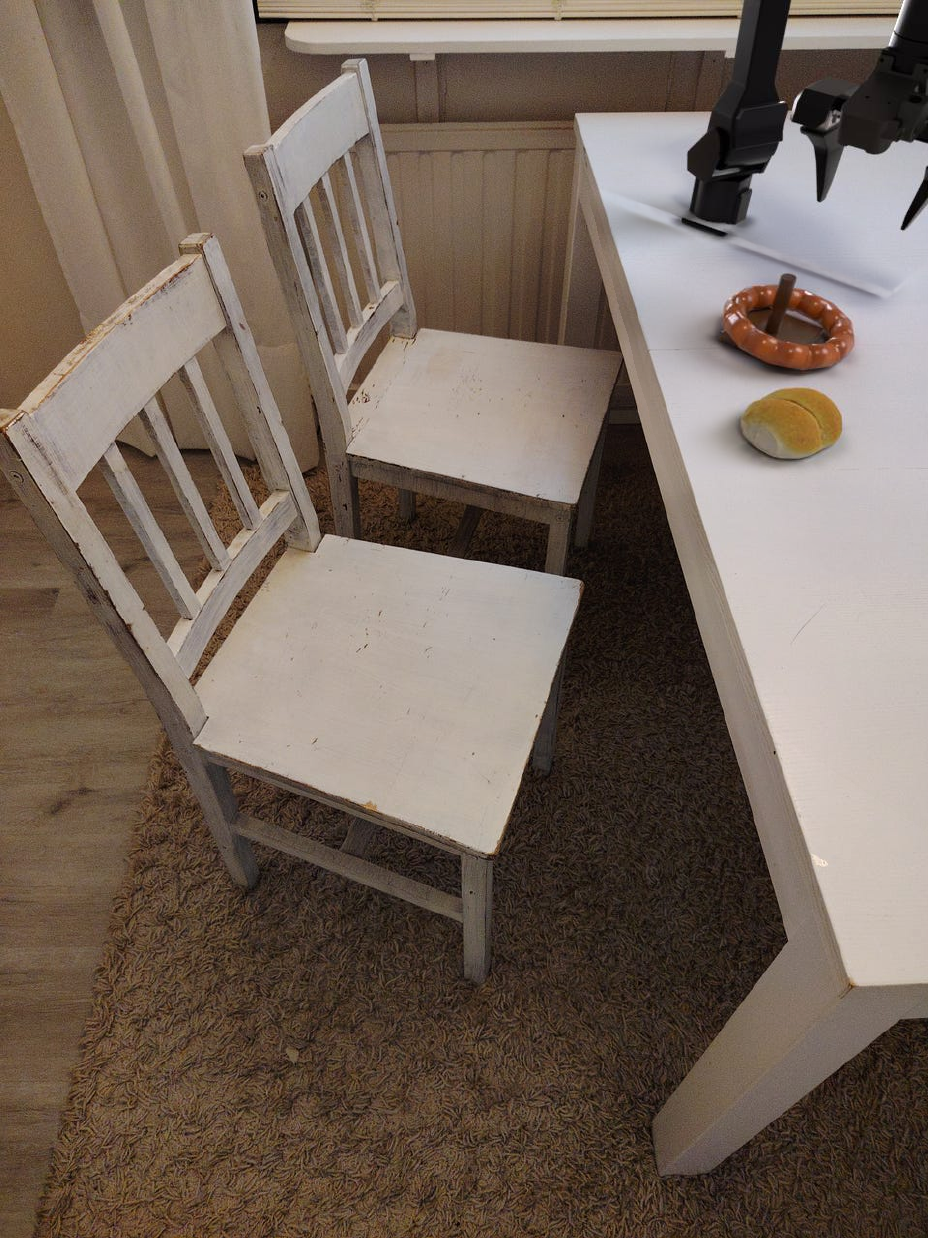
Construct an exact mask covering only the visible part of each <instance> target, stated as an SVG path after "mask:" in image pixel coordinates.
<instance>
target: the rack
mask: <svg viewBox="0 0 928 1238" xmlns="http://www.w3.org/2000/svg"><path fill="white" fill-rule="evenodd" d="M797 278H798V277H797V276H796V275H795V274H794V273H790V272H787V273H786V272H785V273H782V274H781V275H780V277H779V282H778V284H777V285H778V287H777V291H776V294H775V297H774V301H773V304H772V307H770V308H760V309H752V310H751V311H749V312H748V313H747V318H748V319H749V320H750V322H751V323H752V324H753V325H754V326H755V327H756V328H757V329H758V330H760V331H762V332H764V333H766V334H768V335H770V336H772V337H774V338H776V339H778V340H781V341H786V342H791V343H796V344H801V345H813V344H815V342H817V341H818V340H819V339H821V338H822V335H823V333H824V331H825V330H824V328H822V327H821V326H819V325H815V324H813V323H811V322H808V321H805V320H803V319H800V318H798V317H796V316H794V315H793V316H792V315H791V314H788V313H787V308H788V305H789V302H790V298H791V295H792V292H793V289H794V288H795V285H796V282H797ZM718 340H719V341H721V342H724V343H725V344H728V345H729V346H733V347H735V348H737V349H740V348H739V347H738V345H737V344H736V343H735V342H734V341H733V339H732V338H731V337H730V336H729V335H728V333H727V332H726V331H725V330H724V329H723V330H721V332H720V334H719V338H718ZM781 367H782V368H785V367H784V366H781Z"/></svg>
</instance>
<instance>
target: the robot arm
mask: <svg viewBox="0 0 928 1238" xmlns="http://www.w3.org/2000/svg"><path fill="white" fill-rule="evenodd" d="M791 4H792V0H743V4H742V9H741V14H740V15H741V16H740V22H739V27H738V34H737V39H736V45H735V52H734V58H733V64H732V65H733V66H732V70H731V75H730V79H729V82H728V84H727V85H726V86H725V88H724V90H723V91H722V93H721V94H720V96H719V97H718V99H717V101H716V102H715V103H714V104H713V106H712V109H711V113H710V116H709V121H708V124H707V129H706V132H705V133H703V135H702V136H701V137H700V138H699V139H698V140H697V141H696V142H695V143H694V144H693V145H692V146H691V147H690V148H688V149H689V150H687V153H686V170H687V172H689V173H690V174H691V175H692V176H694V177H695V179H694V183H693V184H694V186H693V189H692V195H691V199H690V205H689V212H692V213H693V214H694V216H695V217H697V219H699V220H702V221H704V222H708V223H713V224H727V225H732V226H736V225H738V224H739V223H741V222H742V221H744V220H745V219H747V215H748V210H749V206H750V202H751V199H752V193H753V188H751V183H752V181H753V175H756V174H757V175H758V174H759V175H760V174H764V173H765V171H766V169H767V167H768V165H769V163H770V161H771V159H772V158H773V156H774V155H776V152H777V150H778V148H779V146H780V145H779V144H780V142H783V141H784V127H785V122H786V119H787V117H788V113H789V104H788V102H787V101H782V100H781V97H780V94H779V90H778V88H777V85H776V81H777V74H778V70H779V64H780V59H781V55H782V49H783V44H784V39H785V35H786V29H787V24H788V19H789V14H790V10H791ZM789 121H790V122H791V123H794V124H798V125H801V126H800V127H799V132H800V134H801V135H805V136H806V137H807V139H809V141H810V144H811V145H812V147H813V151H814V152H813V153H814V159H815V160H814V161H815V178H816V179H815V185H816V202H817V203H822V202H824V201H825V200H826V198H827V197H828V196H827V195H828V194H829V191H830V190H831V187H832V184H833V182H834V179H835V176H836V173H837V170H838V167H839V164H840V162H841V159H842V155H843V153H844V149H845V147H846V148H847V147H848V146H849V147H852V148H855V149H859V150H863V151H864V152H865V153H866V154H869V155H874V156H876V155H877V156H878V155H881V154H883V153H885V152H887V151H888V150H889V148H891V145H892V144H893V142H894V143H898V142H899V141H901V142H905V143H908V144H911V143H913V142H914V141H917V142H920V143H924V144H927V145H928V0H903V2H902V5H901V8H900V11H899V14H898V17H897V19H896V23H895V26H894V29H893V31H892V35H891V37H890V40H889V43H888V46H885V47H884V48H882V50H881V53H880V55H879V56H878V58H877V60H876V64H875V67H874V68H873V70H872V72H871V73H870V75H869V76H868V77H867V78H866V80H865V81H863V82H862V83H861V84H859V83H857V82H852V81H848V80H844V79H841V78H838V77H837V78H836V77H832V76H829V75H827V76H825V77H824V78H821V79H819V80H818V81H815V82H814V83H812V84H809V85H808V86H806V87H804V88H802V90H800V91H799V92H798V94H797V95H796V98H795V99H794V100H793V106H792V109H791V112H790V116H789ZM927 206H928V165H926V166H925V170H924V175H923V179H922V181H921V183H920V185H919V187H918V189H917V190H916V193H915V195H914V197H913V198H912V201H911V203H910V205H909V206H908V209H907V210H906V213H905V215H904V217H903V220H902V223H901V226H900V229H899V230H900V231H903V232H904V231H905V230H907V229H908V228H910V226H911V225H912V224H913V223H914V221H915V220H916V219H917V218H918V216H920V214H921V213H922V212H923V210H924V209H925V208H926V207H927ZM680 222H681V223H683V224H685V225H688V226H691V227H694V228H697V229H698V230H699V229H700V230H703V231H705V232H708V233H710V234H714V235H716V236H718V237H719V236H720V237H724V236H726V235H727V234H728V232H725V231H722V230H721V229H718V228H714V227H711V226H708V225H706V224H702V223H700V222H697V221H695V220H692V219H688V218H685V217H681V220H680Z"/></svg>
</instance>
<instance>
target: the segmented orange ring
mask: <svg viewBox="0 0 928 1238" xmlns="http://www.w3.org/2000/svg"><path fill="white" fill-rule="evenodd" d="M777 287H778V284H777V283H776V284H775V283H774V284H763V285H752V286H746V287H745V288H744V287H743V289H741V290H740V291H738V292H737V293H735V294H734V295H732V296H730V297H729V298H728V299H727V300H726V301H725V303H724V306H723V313H722V327H723V330H725V331H726V332H727V333H728V335H729V336H730V337H731V338H732V339H733V341H734V342H735V343H736V344H737V345H738V347H739V348H738V349H740V350H742V351H743V352H745V353H747V354H750V355H751V356H753V357H756V358H757V359H760V360H761V361H763V362H765V363H767V364H769V365H773V366H774V365H775V366H778V367H782V366H784V367H783V368H789V369H794V370H799V371H805V370H813V369H814V370H815V369H822V368H828V367H829V368H830V367H833V366H835V365H836V364H837V363H839V362H840V361H841V360H843V358H845V357H846V356H847V355H848V354H849V353H850V352H851V351H852V350H853V349H854V347H855V344H856V343H855V342H856V341H855V334H854V325H853V322H852V320H851V319H850V318H849V317H848V316H847V315H846V314H845V313H844V312H843V311H842V310H841V309H840V308H839V307H838V306H837V305H836V304H835V303H833V302H831V301H830V300H828V299H826V298H824V297H822V296H819V295H817V294H815V293H813V292H812V291H809V290H807V289H802V288H797V287H794V289H793V292H792V295H791V298H790V302H789V305H788V308H787V311H788V312H793V313H796V314H798V315H800V316H801V317H805V318H807V319H808V320H810V321H813V322H814V323H816V324H817V325H818V326H819V327H821V328H824V330H823V331H824V332H825V333H826V334H827V335H828V340H827V341H825V342H823V343H821V342H820V343H813V344H812V345H801V344H796V343H791V342H786V341H781V340H778V339H776V338H774V337H772V336H770V335H768V334H766V333H764V332H762V331H760V330H758V329H757V328H756V327H755V326H754V325H753V324H752V323H751V322H750V320H749V319H748V318H747V313H748V312H749V311H751V310H752V309H760V308H771V307H772V304H773V301H774V297H775V294H776V291H777ZM787 311H786V312H787Z"/></svg>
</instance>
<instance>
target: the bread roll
mask: <svg viewBox="0 0 928 1238" xmlns="http://www.w3.org/2000/svg"><path fill="white" fill-rule="evenodd" d="M740 426H741V431H742V434H743V436H744V438H745V439H746V440H747V441H749V442H750V443H751V444H752V445H753V446H754V447H755V448H757V449H758V450H760V451H761V452H763V453H765V454H767V455H769V456H771V457H774V458H779V459H789V460H791V459H794V460H796V459H797V460H799V459H804V458H806V457H809V456H811V455H814V454H815V453H818V452H820V451H821V450H824V449H826V448H829V447H830V446H832V445H834V444H835V443H837V442H838V441H839V439H840V438H841V434H842V432H843V418H842V414H841V411H840V409H839V408H838V406H837V405H836V404H835V403H834V401H833V400H832V399H831V398H830V397H829V396H828V395H826V394H824V393H822V392H820V391H818V390H816V389H813V388H807V387H791V388H790V387H789V388H780V389H778V390H774V391H773V392H770V393H769V394H767V395H765V396H763V397H762V398H760V399H758V400H755V401H753V402H752V403H750V404H749V405H748V406H747V407H746V409H745V411H744V412H743V414H742V416H741V418H740Z"/></svg>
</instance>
